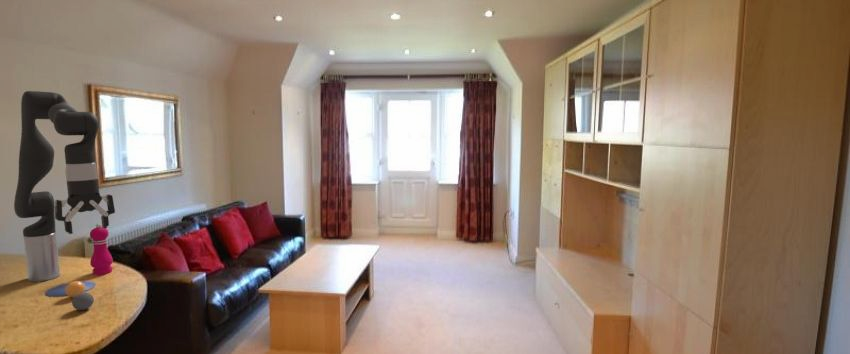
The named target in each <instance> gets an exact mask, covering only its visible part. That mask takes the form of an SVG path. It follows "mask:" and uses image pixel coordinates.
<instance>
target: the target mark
mask: <svg viewBox="0 0 850 354" xmlns="http://www.w3.org/2000/svg"><path fill="white" fill-rule="evenodd" d="M79 281H80V280H79ZM80 282H82V283H83V284H84V285H85V292H87V290H88V291H90V290H91V288H92V289H94V288H95V287H94V286H96V283H95V282H94V281H87V280H81V281H80ZM69 283H70V282H67V283H63V284H59V285H55V286H54V287H50V288H49V289H47V290H46V291H45V296H47V297H51V296H54V297H55V296H61V297H68V296H67V295H66V293H65V288H66V286H67V285H68V284H69ZM89 289H90V290H89ZM54 297H53V298H54ZM55 298H56V297H55Z"/></svg>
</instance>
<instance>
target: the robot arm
mask: <svg viewBox="0 0 850 354" xmlns="http://www.w3.org/2000/svg"><path fill="white" fill-rule="evenodd" d="M20 102H21V103H20V104H21V105H20V109H21V110H20V111H21V112H20V113H21V135H20V136H21V137H20V146H19V154H18V179H17V186H16V190H15V196H14V203H13V208H14V209H13V210H14V213H15V215H16V216H17V217H18V218H19V219H30V218H38V217H40V219H38V220H37V221H35V222H34V223H32V224H30V225H28V226H25V227H24V228H23V229H22V234H23V236H22V237H23V244H24V254H25V261H26V272H27V281H29V282H35V283H36V282H44V281H49V280H53V279H56V278H58V277H60V275H61V273H60V272H61V271H60V263H59V262H60V261H59V260H60V259H59V252H58V242H57V233H56V231H57V230H56V221H58V222H63V224H64V231H65V233H68V235H72V234H74V233H73V224H72V221H71V220H72V219H73V217H74V216H75V215H76V214H77V212H78V213H85V212H93V211H97V212H98V213H99V214H100V215H101V216H100V218H101V219H100V220H101V227H102V228H104V229H105V228H106V229H107V228H108V227H109V226H110V223H109V220H110V219H109V216H110V215H113V214H115V213H116V208H115V204H114V199H113V198H114V197H113V195H112V194H106V195H101V193H100V186H99V185H100V184H99V174H98V168H97V165H96V156H95V144H96V140H97V139H96V138H97V134H98V131H99V128H100V127H99V126H100V121H99V119H98V116H96V114H95V113H94V112H90V111H79V110H78V109H76V108H74V107H72V106H71V105H70V104H69V102H68V101H67V99H66V98H65V97H64V96H63V95H62V94H60V93H58V92H57V93H56V92H50V91H39V90H37V91H36V90H27V91H24V92H23V94H22V96H21V101H20ZM36 120H49V121H50V122H51V123H52V124H53V128H54V131H56V133H57V134H59V135H62V136H83V138H82V139H81V141H78V142H74V143H68V144H66V145H65V147H64V149H63V150H64V157H65V177H66V179H65V180H66V187H67V188H66V189H67V198H66V199H54V198H55V197H54V195H53V194H52V193H51V192H50V191H47V190H46V191H35V192H34V191H33V190H34V188H35V186H36V185H38V183H40V182H41V181H42V180H43V179H44V178H45V177H46V176H47V175H48V174H49V173H50V171H52V169H53V167H54V159H55V150H54V147H53V146H52V144H51V143H50V141H49V140H47V138H46V137H45V136H44V135H43V133H41V131H40V130H39V128H38V126H37V125H36ZM32 191H33V192H32ZM102 200H103V202H105V203H106V206H107V210H105V209H104V208H103V207H102V206H100V203H101V202H102ZM66 204H67V205H68V206H69V207H70V208H69V209H68V211H67V212H66V214H65V216H64V215H63V208H64V207H66Z"/></svg>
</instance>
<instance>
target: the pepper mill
mask: <svg viewBox="0 0 850 354" xmlns="http://www.w3.org/2000/svg"><path fill="white" fill-rule="evenodd" d="M109 234H110V233H109V230H108V229H107V228H105V229H104V228H102V223H96V224H95V228H93V229H91V230H90V232H89V238H90V239H92V240H91V244H92V245H93V253H92V255H91V258H90V260H89V261H90V266H91V267H92V268H93V269H92V274H93V275H94V276H102V275H108V274H110V273H112V272H113V266H112V264H113V262H114V259H113V258H114V257H112V254H111V252H110V251H109V249H108V245H107V243H109V241H108V239H109V238H108V237H109Z"/></svg>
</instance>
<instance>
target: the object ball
mask: <svg viewBox="0 0 850 354" xmlns="http://www.w3.org/2000/svg"><path fill="white" fill-rule="evenodd" d="M68 283H69V284H68V285H67V286H66V288H65V293H66V295H67V296H66V297H69V298H72V299H73V298H74V297H75V296H76V295H78V294H80V293H86V291H85V285H84V284H83V283H82V282H80V280H75V281H71V282H68Z"/></svg>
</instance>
